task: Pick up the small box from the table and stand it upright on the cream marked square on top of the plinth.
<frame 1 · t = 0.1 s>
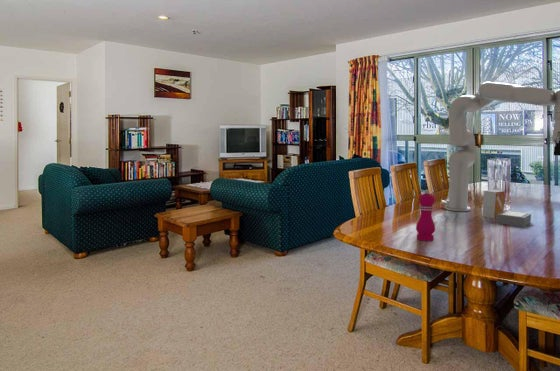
pepper mill: (425, 239, 171), on the table
small box: (492, 217, 211), on the table
plinth: (513, 222, 198), on the table
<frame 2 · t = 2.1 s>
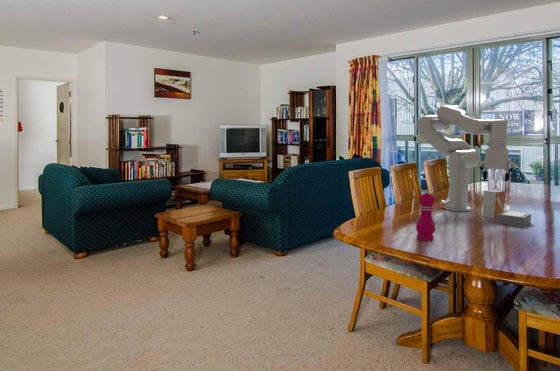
hand: (495, 180, 209), 18 cm above the table, tool pointing down, fingers open, 9 cm apart
nothing on the table moved.
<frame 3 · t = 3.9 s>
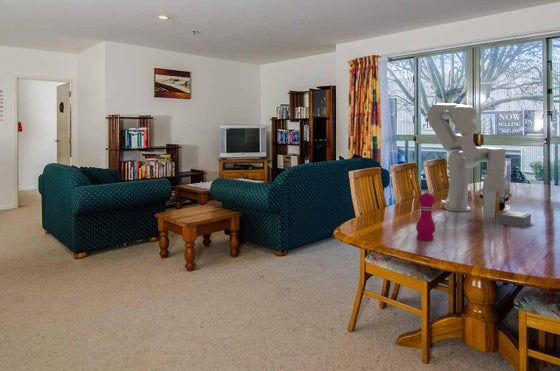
hand: (493, 209, 211), 4 cm above the table, tool pointing down, fingers closed on small box, 7 cm apart
small box: (492, 217, 211), on the table, touching gripper
everything else where it was.
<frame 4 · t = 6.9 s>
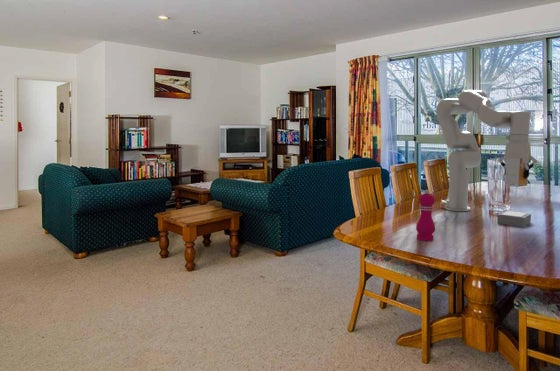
hand: (516, 177, 196), 21 cm above the table, tool pointing down, fingers closed on small box, 7 cm apart
small box: (515, 186, 196), point 17 cm above the table, touching gripper
everything else where it was.
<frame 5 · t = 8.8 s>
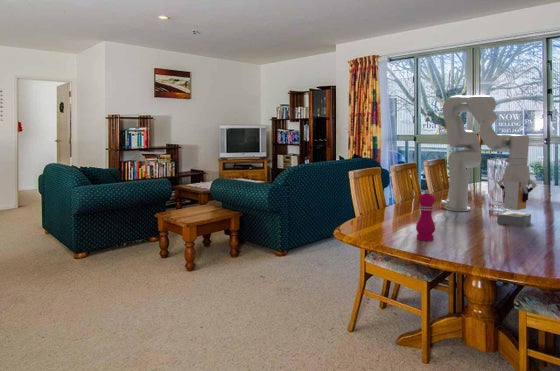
hand: (515, 200, 197), 10 cm above the table, tool pointing down, fingers closed on small box, 7 cm apart
small box: (514, 209, 197), point 6 cm above the table, touching gripper
everything else where it was.
when the fingers open (9 cm above the table, at t = 10.1 s): small box drops 1 cm, resting on plinth.
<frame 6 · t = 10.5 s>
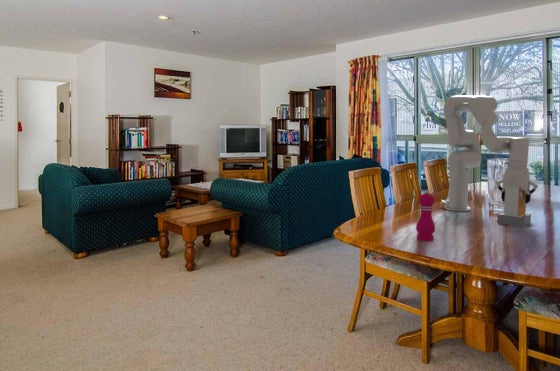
hand: (515, 201, 197), 10 cm above the table, tool pointing down, fingers open, 9 cm apart
small box: (514, 214, 198), point 4 cm above the table, touching plinth
everything else where it was.
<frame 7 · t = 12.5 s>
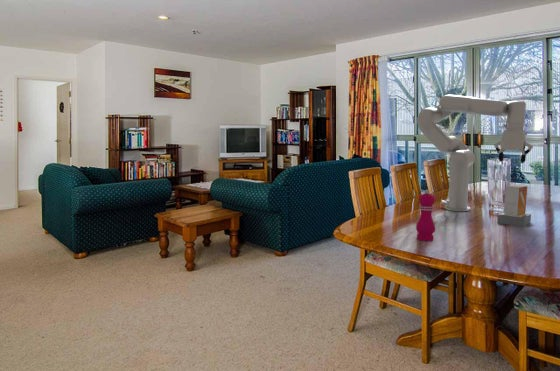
hand: (511, 162, 210), 27 cm above the table, tool pointing down, fingers open, 9 cm apart
nothing on the table moved.
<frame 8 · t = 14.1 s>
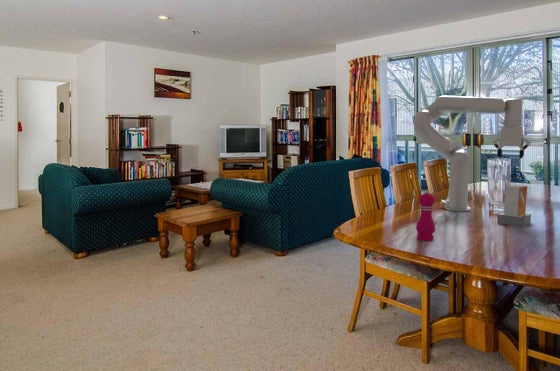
hand: (510, 157, 217), 28 cm above the table, tool pointing down, fingers open, 9 cm apart
nothing on the table moved.
at the end: small box 0.1 cm off-centre on the plinth, point 4.0 cm above the plinth's base; small box tilted 0°; the gripper is holding nothing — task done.
